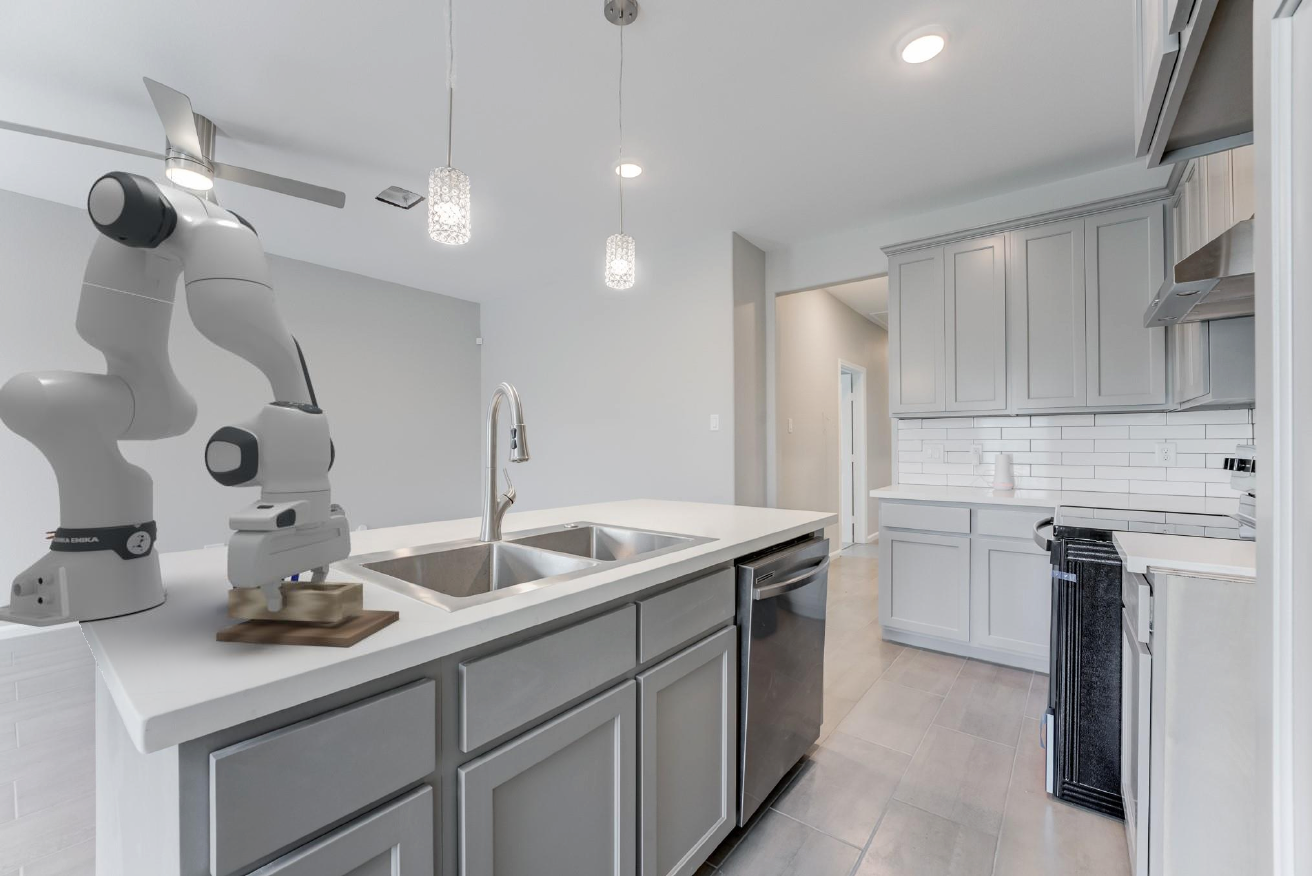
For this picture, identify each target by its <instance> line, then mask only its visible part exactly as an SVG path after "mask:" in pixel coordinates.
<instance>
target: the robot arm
mask: <svg viewBox="0 0 1312 876" xmlns="http://www.w3.org/2000/svg"><path fill="white" fill-rule="evenodd" d="M86 203H87V205H86V206H87V211H88V215H89V217H90V220H91V222H92V224H93V225H94V227H95V228H96V230H98V231H99V232H100V233H99V235H98V237H97V239H96V241H95V243H94V244H93V247H92V249H91V253H90V256H89V258H88V261H87V263H86V264H87V265H86V268H85V272H84V275H83V280H82V284H81V291H80V297H79V302H78V307H77V308H78V309H77V313H76V319H75V323H74V325H75V329H76V332H77V334H78V335H79V337H80V338H81V339H82V340H83V341H84V342H85V343H87V344H89V345H90V346H91V347H93V348H94V349H96V350H98V351H100V352H101V353H102V355H103V356H104V359H105V361H106V366H107V367H106V368H107V369H106V370H107V371H106V374H102V373H101V374H100V373H92V372H82V371H81V372H80V371H71V370H43V371H31V372H21V373H17V374H15V375H14V376H13V377H10V378H9V379H8V380H7V381H6V382H5V383H4V384H3V385H2V386H1V388H0V420H1V421H2V423H3V425H4V426H6V427H7V428H8V429H9V430H10V431H12V433H14V434H16V435H17V436H20V437H21V438H23V439H25V440H26V441H28V442H29V443H31V444H32V445H33V446H35V448H37V450H39V451H40V452H41V453H42V455H43V456H44V457H45V458H46V460H47V461H48V463H49V464H50V466H51V468H52V470H53V473H54V474H55V477H56V482H57V485H58V487H57V488H58V495H59V497H58V498H59V515H60V516H59V517H60V518H59V519H60V520H59V521H60V522H59V523H60V526H59V527H57V528H56V530H54V531H53V530H51V531H46V532H45V534H46V535H47V534H54V535H50V536H47V537H45V539H46V540H52V541H51V543H50V546H49V550H50V551H49V552H48V553H46V554H45V555H44V556H42V557H41V558H40V559H38V560H37V561H36V562H34V563H33V564H32V565H30V566H29V567H28V568H26V569H25V570H23V571H22V572H20V573H19V574H17V575H16V577H14V579H13V580H12V583H11V587H10V588H11V590H10V598H9V599H10V601H9V604H7V605H4V606H3V605H2V606H0V621H2V622H8V623H13V624H18V625H26V626H31V627H37V628H43V627H45V628H46V627H51V626H53V627H54V626H56V625H63V624H69V623H77V622H83V621H93V620H99V619H105V618H112V617H116V616H123V615H126V614H131V613H135V612H140V611H144V610H147V609H150V608H153V607H156V606H159V605H161V604H163V603H164V602H165V601H166V600H167V599H166V595H167V594H168V590H167V587H163V579H162V571H161V563H160V557H159V556H160V555H159V552H158V550H157V549H156V548H155V545H154V544H155V542H156V541H157V538H158V537H157V536H158V535H157V532H158V527H157V522H156V520H154V480H153V478H152V476H151V475H150V473H149V472H148V471H147V470H146V469H144V468H142V467H140V466H138V465H136V464H133V463H131V462H129V461H128V460H127V459H126V458H125V457H124V456H123V455H122V453H121V451H120V449H119V444H118V441H157V440H163V439H164V440H165V439H169V438H173V437H174V438H175V437H179V436H182V435H184V434H186V433H187V432H189V431H190V430H191V428H193V426H194V424H195V422H196V421H197V417H198V405H197V401H196V398H195V397H194V395H193V394H192V393H191V391H190V390H188V389H187V388H186V387H185V386H184V385H183V384H182V383H181V382H180V380H179V379H178V377H177V376H176V373H175V372H174V370H173V366H172V363H171V359H170V355H169V335H170V327H171V320H172V315H173V310H174V309H173V308H174V303H175V298H176V293H177V292H176V290H177V283H178V279H179V276H180V275H181V274H182V273H183V278H184V279H183V280H184V289H185V297H186V298H185V300H186V306H187V309H188V315H189V317H190V320H191V321H192V323H193V326H194V328H195V329H196V330H197V331H198V332H199V333H200V334H201V335H202V336H204V338H206V340H208V341H210V342H211V343H212V344H214V345H216V346H218V347H220V348H222V350H225V351H228V352H230V353H231V354H234V355H236V356H238V357H239V358H242V359H243V360H245V361H246V362H248V363H250V364H252V365H253V366H255V368H257V369H259V371H260V372H261V373H262V374H263V375H264V376H265V377H266V379H267V380H268V381H269V384H270V387H271V390H272V394H273V397H274V400H275V401H272V402H268V403H267V404H265V405H264V407H262V409H261V411H260V412H259V413H258V414H256V415H254V416H252V417H251V418H248V419H246V420H243V421H241V422H238V423H235V424H233V425H229V426H228V425H227V426H223V427H220V429H217V430H216V431H215V432H214V433H213V434H212V435H211V437H210V438H209V440H208V441H207V443H206V446H205V449H204V462H205V463H204V464H205V467H206V469H207V472H208V473H209V475H210V476H211V477H212V479H213V480H214V481H216V482H217V483H219V484H220V485H222V486H224V487H232V488H253V487H261V489H260V499H257V500H256V501H254V502H253V503H251V504H249V505H248V506H246V507H244V508H242V509H240V510H239V511H235V512H234V513H233V514H231V515H230V516H229V519H228V526H229V529H230V530H232V531H235V532H234V533H233V534H232V535H231V536H230V539H229V541H228V547H227V569H226V570H227V571H226V572H227V579H228V582H229V583H230V584H231V585H232V587H233V586H234V587H240V588H255V587H259V586H260V589H261V591H262V592H263V594H264V595H265V597H266V598H267V599H268V610H269V611H274V612H277V611H280V610H282V609H284V608H286V607H287V604H286V602H287V596H282V595H281V593H280V591H279V589H278V587H281V586H282V579H284V578H285V579H286V578H291V576H293V575H296V574H299V575H300V574H302V573H305V572H308V571H310V573H312V576H311V579H310V582H326V579H327V577H328V574H329V572H330V565H331V564H334V563H337V562H341V561H344V560H346V559H348V558H349V556H350V554H351V550H352V543H351V534H350V532H351V531H350V525H349V521H348V520H347V517H346V511H345V509H344V508H343V507H341V506H340V504H338V503H331V502H332V501H331V500H332V499H331V497H332V494H331V493H332V491H331V490H332V489H331V487H332V486H331V483H330V481H329V476H328V475H329V472H330V470H331V469H332V467H333V465H334V461H335V457H336V452H335V451H336V450H335V446H334V443H333V440H332V437H331V433H330V427H329V422H328V417H327V415H326V413H325V411H324V410H323V409H321V408H320V407H319V405H318V401H317V397H316V394H315V391H314V387H313V383H312V380H311V376H310V373H309V370H308V366H307V363H306V360H305V357H304V355H303V351H302V349H301V346H300V345H299V344H300V343H299V342H298V341H297V339H296V338H295V337H294V336H293V335H292V334H291V333H290V331H289V330H288V328H287V326H286V325H285V323H284V321H283V318H282V317H281V315H280V311H279V309H278V307H277V303H276V300H275V293H274V287H273V281H272V276H271V272H270V267H269V264H268V260H267V258H266V254H265V251H264V248H263V246H262V243H261V241H260V239H259V235H258V233H257V231H256V229H255V227H254V226H253V225H252V224H251V223H250V222H248V220H246V219H245V218H243V217H242V216H241V215H239V214H237V213H236V212H234V211H232V210H229V209H225V208H223V207H221V206H219V205H217V204H215V203H213V202H212V201H210V200H207V199H206V198H203V197H201V196H199V195H197V194H195V193H191V192H186V191H183V190H181V189H177V188H175V187H173V186H169V185H166V184H162V183H159V182H156V181H153V180H151V178H148V177H147V176H143V175H139V174H136V173H132V172H126V171H117V170H113V171H110V172H107V173H105V174H104V175H102V176H101V177H99V178H98V179H97V180H95V182H94V183H93V184H92V187H90V190H89V193H88V197H87V202H86Z"/></svg>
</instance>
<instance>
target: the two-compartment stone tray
mask: <svg viewBox="0 0 1312 876" xmlns="http://www.w3.org/2000/svg"><path fill="white" fill-rule="evenodd" d="M283 588H289V589H286V590H279V591H280V593H281V595H282V596H287V602H286V604H287V607H286V608H284V609H282V610H280V611H277V612H274V611H269V610H268V599H267V598H266V597H265V595H264V594H263V592H262V591H261V589H260V586H259V587H255V588H240V587H238V588H235V589H233V588H232V589H229V590H228V591H227V593H228V594H227V596H228V597H227V598H228V599H227V601H228V605H227V607H228V608H227V611H228V614H227V617H228V618H227V619H229V618H230V619H247V620H250V619H272V620H298V621H324V622H337V621H339V620H341V619H343V618H345V617H348V616H350V615H352V614H354V613H356V612H358V611H360V610H364V583H363V582H339V581H337V582H336V581H335V582H334V581H333V582H332V581H325V582H311V581H307V580H306V581H305V580H304V581H302V580H301V581H300V580H298V581H291V580H284V581H282V586H281V587H278V589H283ZM326 590H334V591H326Z"/></svg>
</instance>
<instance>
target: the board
mask: <svg viewBox="0 0 1312 876" xmlns="http://www.w3.org/2000/svg"><path fill="white" fill-rule="evenodd" d="M286 589H289V588H283V589H279V590H286ZM326 591H334V590H326ZM399 619H400V611H399V610H398V611H397V610H396V611H395V610H377V609H376V610H372V609H362V610H360V611H358V612H356V613H354V614H352V615H350V616H348V617H345V618H343V619H341V620H339V621H337V622H324V621H298V620H272V619H247V620H245V621H242V622H240V623H237V624H234V625H232V626H230V627H227V628H224V629H221V630H219V631H216V632H215V633H216V636H215V639H216V642H231V643H232V642H233V643H234V642H235V643H236V642H237V643H254V644H255V643H256V644H257V643H258V644H272V645H273V644H277V645H299V646H318V647H319V646H320V647H338V648H340V647H341V648H349V647H351V646H353V645H355V644H356V643H358V642H360V641H362V640H364V639H366V638H367V637H369V636H371V635H373V634H375V633H377V632H378V631H380V630H382V629H384V628H385V627H387V626H389V625H391V624H393V623H395V622H396V621H398V620H399Z"/></svg>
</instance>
